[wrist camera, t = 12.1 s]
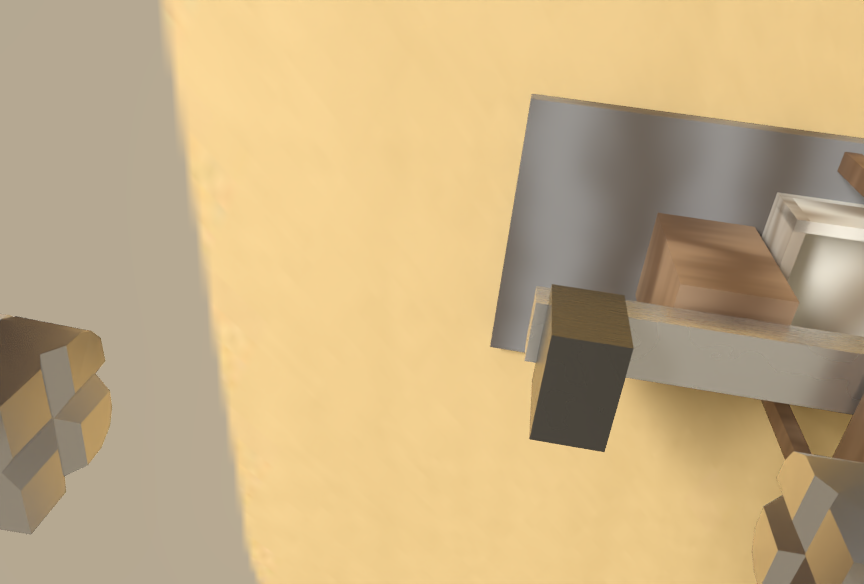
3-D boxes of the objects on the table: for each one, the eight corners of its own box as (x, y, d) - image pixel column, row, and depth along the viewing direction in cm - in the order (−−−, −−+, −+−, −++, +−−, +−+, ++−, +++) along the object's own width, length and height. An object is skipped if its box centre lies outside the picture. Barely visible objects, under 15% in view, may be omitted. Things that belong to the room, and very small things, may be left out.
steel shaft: (522, 360, 34) (516, 436, 29) (540, 265, 32) (537, 333, 27) (980, 435, 32) (1053, 529, 28) (1037, 342, 30) (1128, 428, 25)
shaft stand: (491, 337, 45) (467, 506, 32) (531, 93, 37) (520, 193, 25) (905, 404, 43) (1045, 611, 31) (1035, 161, 35) (1288, 306, 23)
